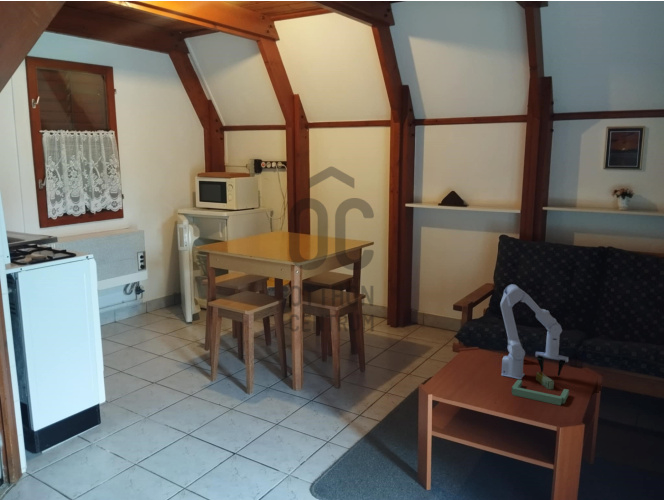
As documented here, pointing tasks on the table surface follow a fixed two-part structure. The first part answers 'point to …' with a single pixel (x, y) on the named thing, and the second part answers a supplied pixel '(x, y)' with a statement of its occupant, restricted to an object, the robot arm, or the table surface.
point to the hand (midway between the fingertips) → (550, 373)
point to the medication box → (544, 380)
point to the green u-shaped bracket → (539, 394)
